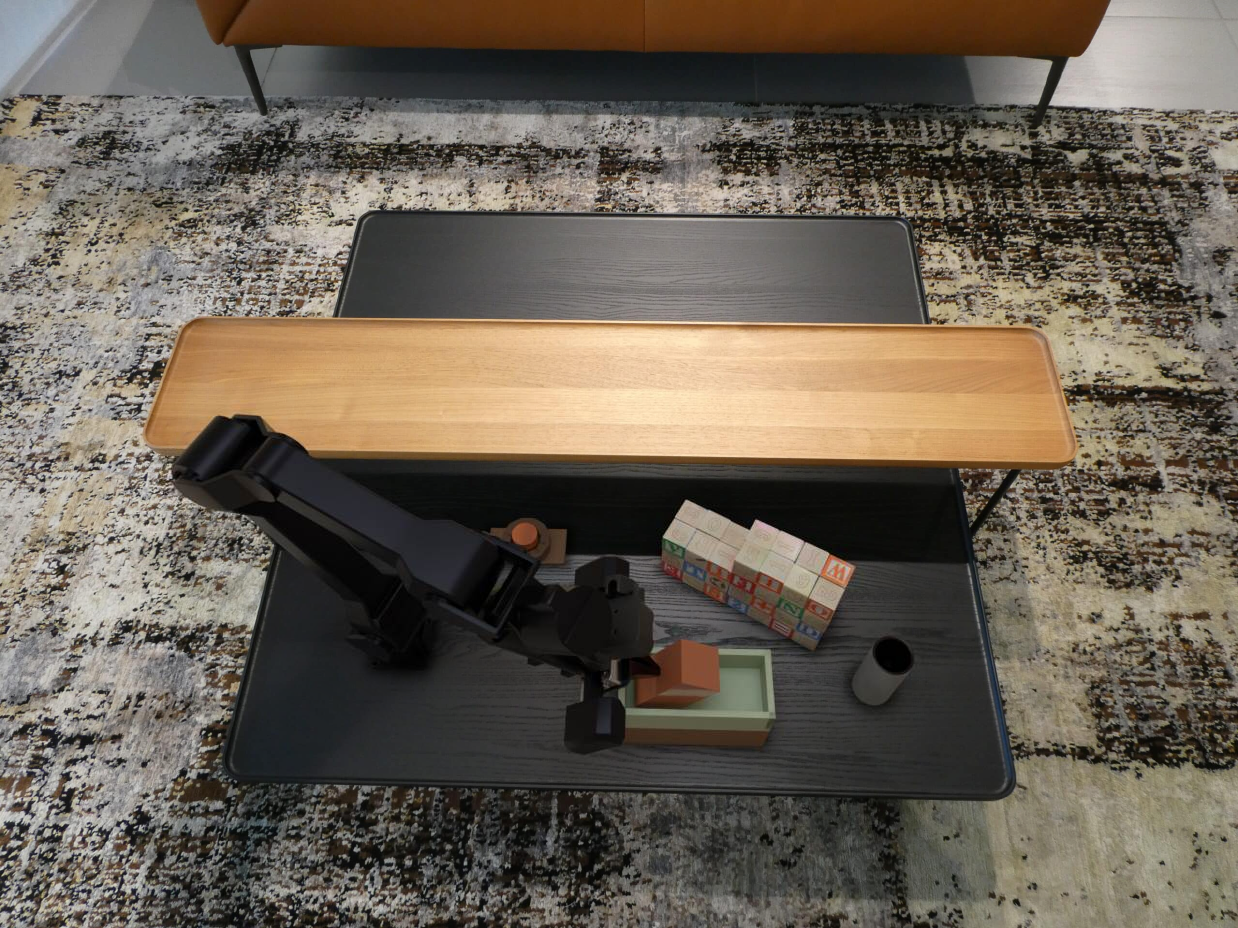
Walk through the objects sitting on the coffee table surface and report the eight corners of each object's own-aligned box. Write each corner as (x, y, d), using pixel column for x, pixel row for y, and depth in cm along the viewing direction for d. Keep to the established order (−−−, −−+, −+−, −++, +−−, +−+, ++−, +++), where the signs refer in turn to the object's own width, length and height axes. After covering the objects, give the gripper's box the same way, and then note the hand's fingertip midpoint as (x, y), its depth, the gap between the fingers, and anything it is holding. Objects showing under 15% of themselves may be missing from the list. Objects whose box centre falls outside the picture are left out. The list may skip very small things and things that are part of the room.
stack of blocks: (659, 571, 107) (662, 523, 97) (682, 534, 110) (687, 484, 100) (814, 652, 101) (835, 610, 91) (835, 610, 104) (857, 565, 94)
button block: (486, 568, 108) (483, 559, 106) (492, 526, 111) (489, 517, 109) (564, 569, 108) (563, 560, 106) (567, 527, 111) (566, 518, 109)
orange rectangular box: (634, 706, 89) (681, 682, 82) (635, 664, 91) (681, 638, 85) (671, 714, 91) (720, 691, 84) (670, 672, 93) (718, 647, 87)
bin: (619, 742, 95) (617, 714, 87) (621, 679, 100) (619, 646, 91) (762, 746, 95) (775, 718, 86) (758, 682, 99) (770, 649, 90)
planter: (849, 667, 100) (869, 634, 91) (887, 668, 100) (911, 635, 91) (854, 705, 97) (875, 674, 89) (893, 706, 97) (918, 675, 89)
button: (512, 551, 107) (510, 544, 105) (514, 529, 109) (513, 522, 107) (537, 551, 107) (536, 545, 105) (539, 529, 109) (538, 522, 107)
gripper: (594, 711, 68) (721, 751, 76) (604, 510, 78) (714, 567, 87) (509, 736, 74) (634, 771, 83) (528, 549, 85) (638, 597, 93)
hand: (657, 672), depth 86 cm, fingers closed
